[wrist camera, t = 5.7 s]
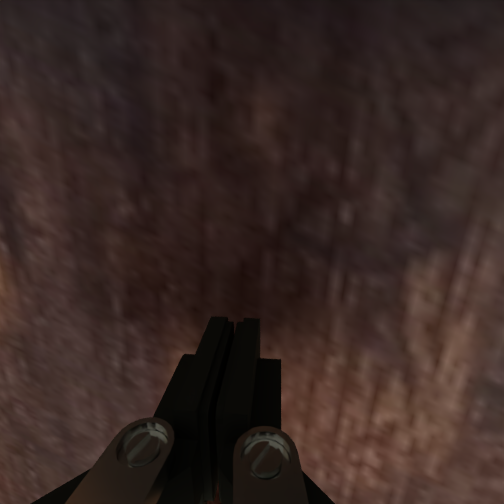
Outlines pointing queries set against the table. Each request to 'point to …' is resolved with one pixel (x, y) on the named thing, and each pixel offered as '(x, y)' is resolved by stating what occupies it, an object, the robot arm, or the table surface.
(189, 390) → the robot arm
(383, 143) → the table surface
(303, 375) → the table surface
